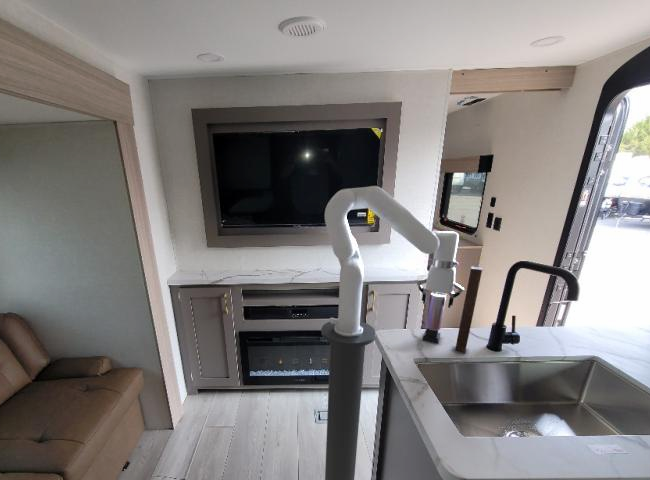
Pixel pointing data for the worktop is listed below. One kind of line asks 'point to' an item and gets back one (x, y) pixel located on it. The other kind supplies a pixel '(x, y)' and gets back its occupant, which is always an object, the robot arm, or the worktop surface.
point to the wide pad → (431, 338)
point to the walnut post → (468, 308)
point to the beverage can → (435, 311)
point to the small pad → (431, 333)
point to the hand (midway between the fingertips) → (436, 304)
